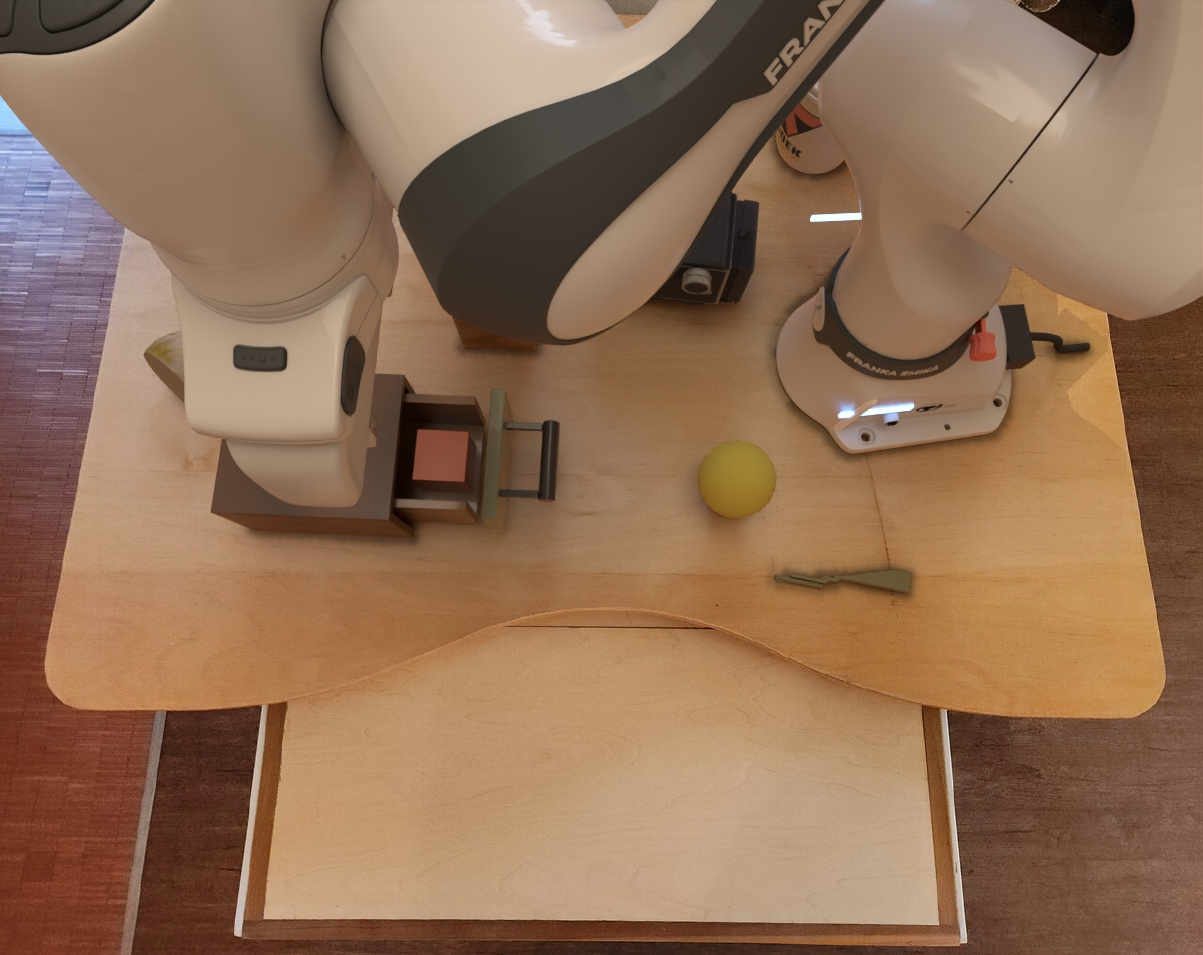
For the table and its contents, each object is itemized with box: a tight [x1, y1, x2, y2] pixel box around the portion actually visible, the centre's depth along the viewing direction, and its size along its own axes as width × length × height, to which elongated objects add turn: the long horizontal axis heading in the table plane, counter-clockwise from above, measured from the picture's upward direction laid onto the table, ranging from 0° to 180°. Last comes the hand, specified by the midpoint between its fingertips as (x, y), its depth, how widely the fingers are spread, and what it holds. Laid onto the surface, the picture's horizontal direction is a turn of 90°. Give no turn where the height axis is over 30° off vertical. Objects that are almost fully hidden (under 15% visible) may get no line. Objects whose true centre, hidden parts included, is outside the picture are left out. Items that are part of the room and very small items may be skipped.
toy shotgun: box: [774, 569, 913, 594], centre depth 75 cm, size 12×2×1 cm, turn 88°
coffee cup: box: [775, 80, 845, 175], centre depth 80 cm, size 9×9×12 cm
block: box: [412, 429, 476, 493], centre depth 73 cm, size 4×4×4 cm
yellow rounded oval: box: [696, 439, 777, 519], centre depth 72 cm, size 7×7×10 cm
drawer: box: [392, 388, 561, 535], centre depth 73 cm, size 18×11×7 cm, turn 88°
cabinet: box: [210, 372, 417, 539], centre depth 73 cm, size 15×13×9 cm
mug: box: [143, 330, 185, 403], centre depth 77 cm, size 8×10×10 cm
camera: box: [649, 191, 760, 306], centre depth 77 cm, size 11×11×15 cm
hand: (372, 359), depth 49 cm, fingers open, 8 cm apart
